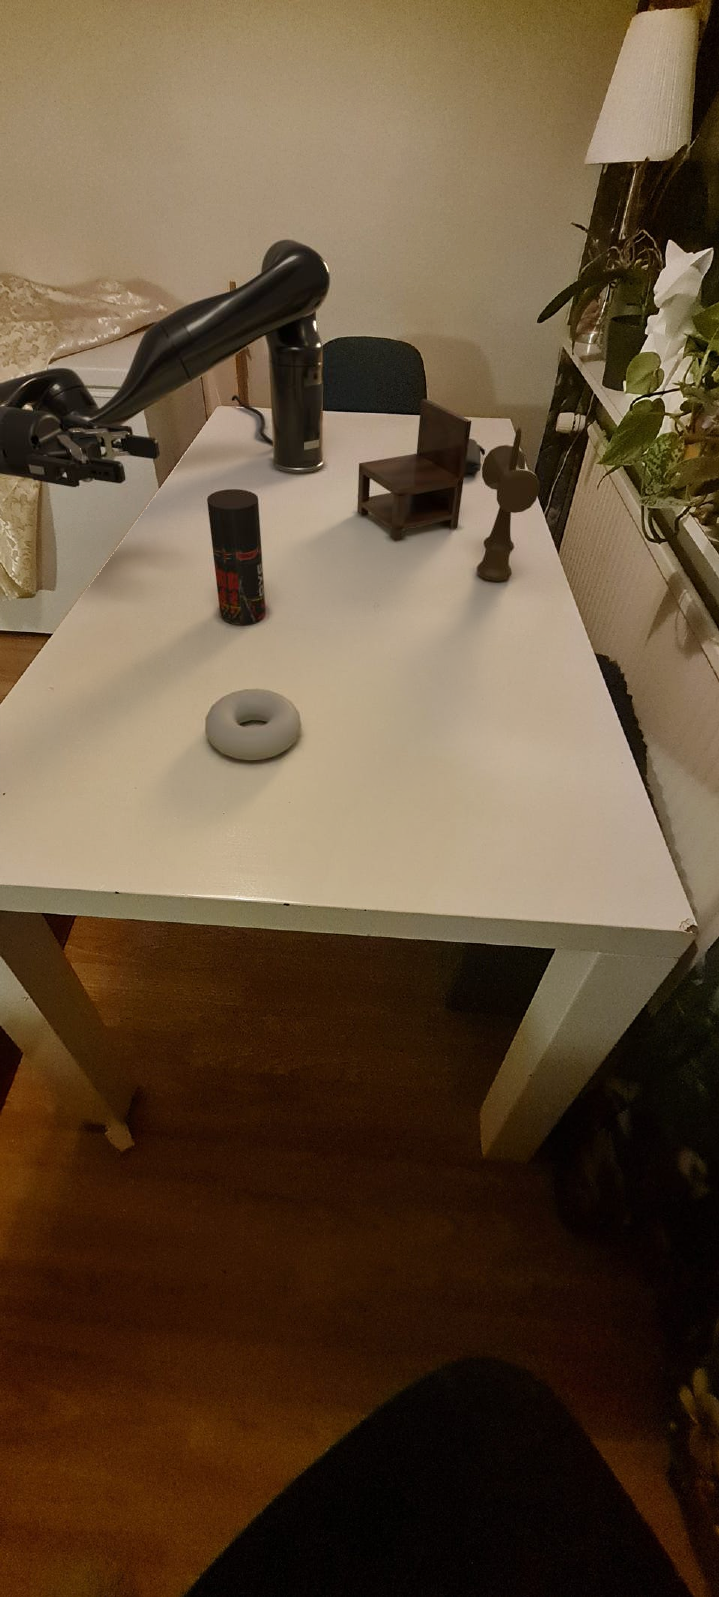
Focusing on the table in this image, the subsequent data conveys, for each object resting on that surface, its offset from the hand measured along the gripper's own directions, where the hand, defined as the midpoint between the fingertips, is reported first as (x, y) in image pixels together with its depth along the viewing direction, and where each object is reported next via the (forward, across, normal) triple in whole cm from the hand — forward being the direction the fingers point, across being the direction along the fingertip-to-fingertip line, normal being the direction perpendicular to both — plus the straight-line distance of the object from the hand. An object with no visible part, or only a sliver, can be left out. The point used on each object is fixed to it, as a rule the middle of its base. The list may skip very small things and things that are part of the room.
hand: (140, 460), depth 82 cm
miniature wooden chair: (+25, -37, -18) cm, 48 cm away
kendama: (+42, -22, -18) cm, 50 cm away
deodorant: (+11, 0, -18) cm, 21 cm away
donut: (+22, +23, -18) cm, 37 cm away
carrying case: (+29, -66, -18) cm, 74 cm away
